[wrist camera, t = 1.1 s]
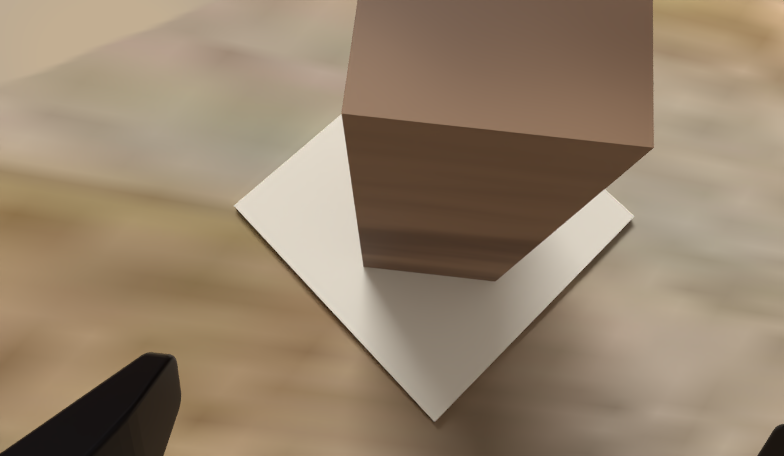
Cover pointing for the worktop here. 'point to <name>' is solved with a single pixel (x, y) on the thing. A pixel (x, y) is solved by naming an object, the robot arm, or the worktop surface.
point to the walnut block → (489, 124)
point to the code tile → (413, 275)
